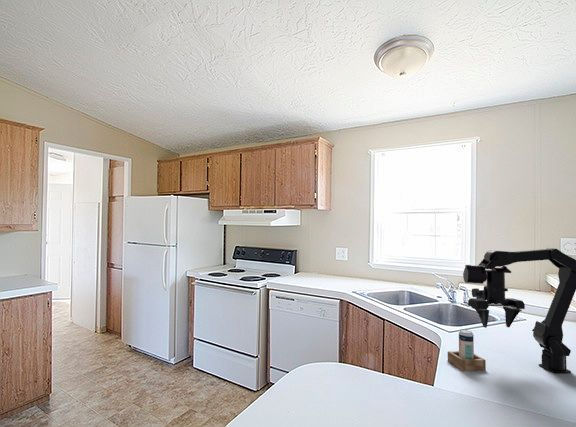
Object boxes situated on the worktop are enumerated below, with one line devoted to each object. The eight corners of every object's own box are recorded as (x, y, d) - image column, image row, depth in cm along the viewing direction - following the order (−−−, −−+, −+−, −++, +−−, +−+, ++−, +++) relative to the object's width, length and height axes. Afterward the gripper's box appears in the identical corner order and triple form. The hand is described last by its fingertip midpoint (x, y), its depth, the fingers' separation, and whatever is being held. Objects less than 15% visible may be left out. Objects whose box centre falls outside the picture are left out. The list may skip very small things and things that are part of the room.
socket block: (469, 360, 118) (468, 350, 118) (485, 370, 109) (485, 359, 110) (447, 361, 117) (447, 351, 117) (462, 371, 108) (462, 360, 109)
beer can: (465, 362, 116) (464, 328, 117) (477, 367, 112) (476, 332, 113) (455, 363, 114) (455, 330, 115) (467, 369, 110) (467, 334, 111)
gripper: (501, 281, 127) (502, 321, 126) (458, 281, 124) (458, 321, 123) (525, 285, 115) (526, 329, 114) (478, 285, 113) (479, 330, 112)
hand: (496, 327), depth 116 cm, fingers open, 9 cm apart
